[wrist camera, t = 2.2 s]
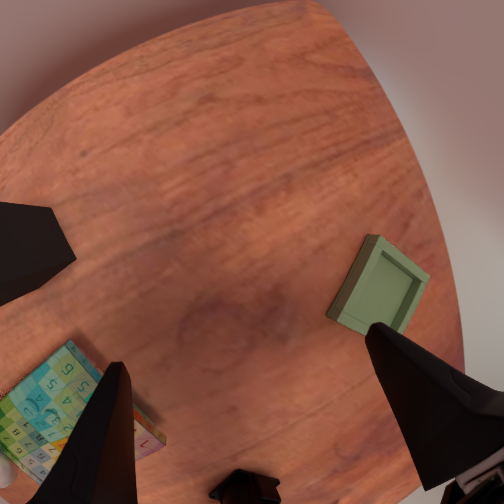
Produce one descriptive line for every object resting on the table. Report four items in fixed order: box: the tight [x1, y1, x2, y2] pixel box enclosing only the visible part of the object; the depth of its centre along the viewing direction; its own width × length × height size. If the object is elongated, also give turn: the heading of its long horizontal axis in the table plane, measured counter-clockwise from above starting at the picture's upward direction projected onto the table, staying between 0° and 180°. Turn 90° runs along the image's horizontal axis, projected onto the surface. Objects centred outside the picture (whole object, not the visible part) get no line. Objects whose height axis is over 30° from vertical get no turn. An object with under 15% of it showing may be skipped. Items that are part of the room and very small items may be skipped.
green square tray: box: [327, 234, 430, 336], centre depth 26 cm, size 8×8×2 cm
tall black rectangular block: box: [0, 202, 76, 306], centre depth 13 cm, size 5×5×13 cm
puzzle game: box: [0, 339, 166, 485], centre depth 18 cm, size 12×5×20 cm
